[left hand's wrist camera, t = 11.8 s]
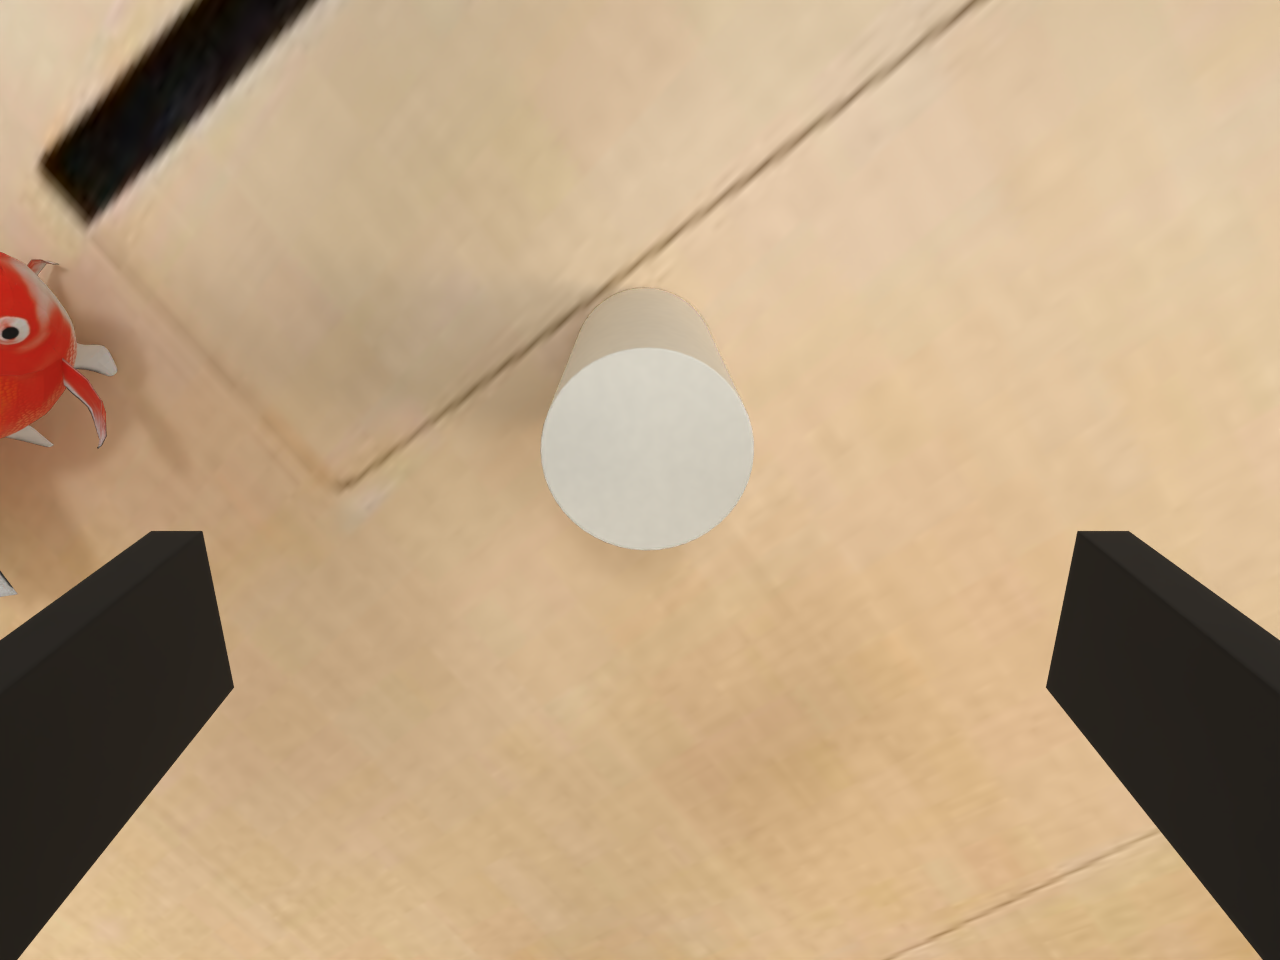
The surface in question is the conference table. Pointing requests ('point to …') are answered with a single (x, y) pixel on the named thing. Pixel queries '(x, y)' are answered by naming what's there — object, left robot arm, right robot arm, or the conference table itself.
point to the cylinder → (646, 426)
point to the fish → (40, 358)
